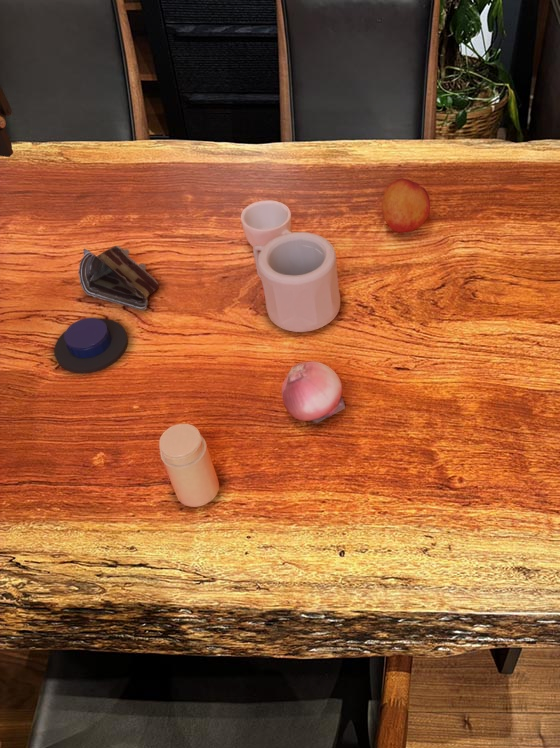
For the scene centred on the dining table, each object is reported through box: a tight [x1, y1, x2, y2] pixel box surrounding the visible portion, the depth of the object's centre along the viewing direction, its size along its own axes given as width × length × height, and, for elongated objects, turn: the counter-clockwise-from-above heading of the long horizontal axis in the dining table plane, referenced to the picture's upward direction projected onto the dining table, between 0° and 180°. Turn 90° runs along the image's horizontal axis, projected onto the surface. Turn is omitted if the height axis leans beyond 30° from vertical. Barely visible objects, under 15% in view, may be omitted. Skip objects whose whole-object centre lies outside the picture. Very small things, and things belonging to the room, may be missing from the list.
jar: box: [158, 423, 220, 508], centre depth 93 cm, size 5×5×10 cm
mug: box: [252, 231, 341, 333], centre depth 114 cm, size 14×11×10 cm
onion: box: [281, 360, 346, 424], centre depth 102 cm, size 8×8×7 cm
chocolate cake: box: [78, 245, 160, 311], centre depth 121 cm, size 10×7×12 cm
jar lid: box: [64, 317, 111, 358], centre depth 112 cm, size 6×6×2 cm
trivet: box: [53, 318, 129, 375], centre depth 113 cm, size 10×10×1 cm
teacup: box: [240, 199, 293, 248], centre depth 125 cm, size 10×8×5 cm
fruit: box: [381, 177, 431, 234], centre depth 126 cm, size 8×8×8 cm
